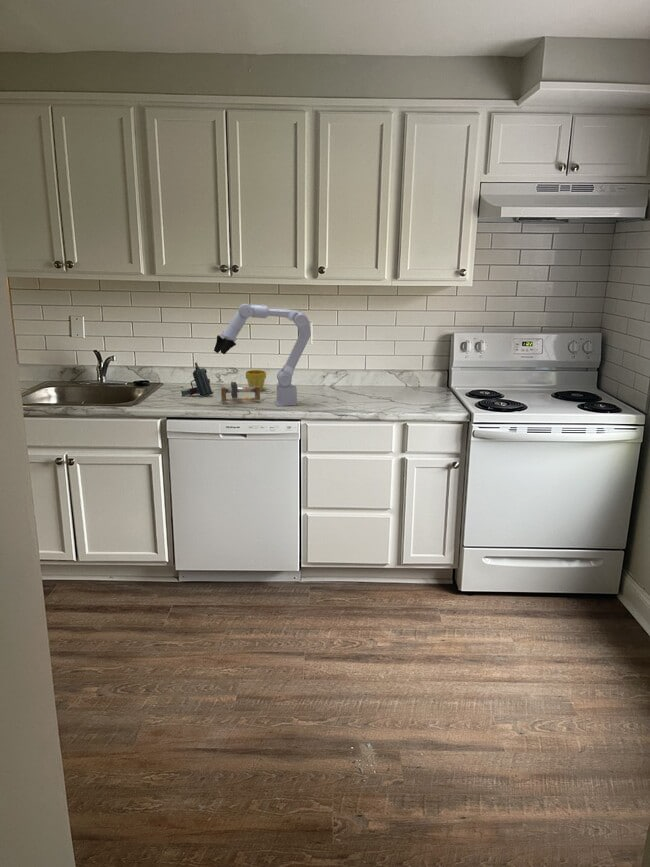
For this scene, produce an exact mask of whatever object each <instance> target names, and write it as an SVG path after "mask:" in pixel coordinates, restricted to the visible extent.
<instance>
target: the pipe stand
mask: <svg viewBox="0 0 650 867" xmlns="http://www.w3.org/2000/svg"><path fill="white" fill-rule="evenodd" d="M253 392H254V397H237V398H232V397H231V398H229V397H228V398H227V393H228V394H229V393H232V388H231V387H225V386H220V394H221V396H220V397H221V400H220V401H221V404H222V405H239V404H242V405H243V404H260V403H261V391H260V387H259V386H255V387H249V386H240V387H239V386H237V393H253Z"/></svg>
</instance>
